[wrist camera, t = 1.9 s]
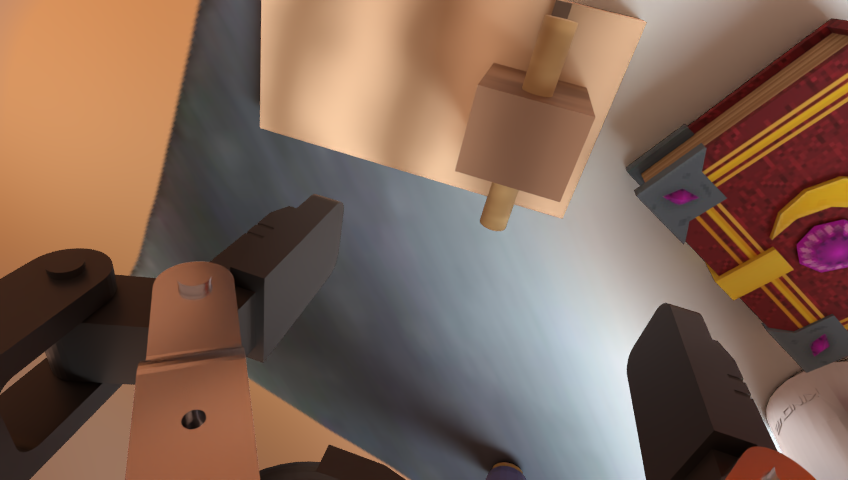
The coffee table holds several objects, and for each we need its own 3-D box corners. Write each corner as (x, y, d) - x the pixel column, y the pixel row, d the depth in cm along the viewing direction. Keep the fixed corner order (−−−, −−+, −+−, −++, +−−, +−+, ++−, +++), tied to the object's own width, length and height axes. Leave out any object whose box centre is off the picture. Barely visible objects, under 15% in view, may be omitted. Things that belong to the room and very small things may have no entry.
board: (640, 19, 23) (648, 22, 21) (561, 204, 29) (562, 220, 27) (281, -71, 25) (259, -75, 23) (275, 119, 31) (257, 129, 29)
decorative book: (830, 9, 21) (897, 17, 17) (1005, 235, 24) (1099, 289, 20) (623, 167, 27) (635, 201, 23) (783, 334, 30) (820, 392, 26)
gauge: (611, 25, 22) (628, 39, 17) (540, 204, 27) (537, 255, 22) (511, 0, 22) (498, 6, 17) (461, 180, 28) (440, 225, 23)
